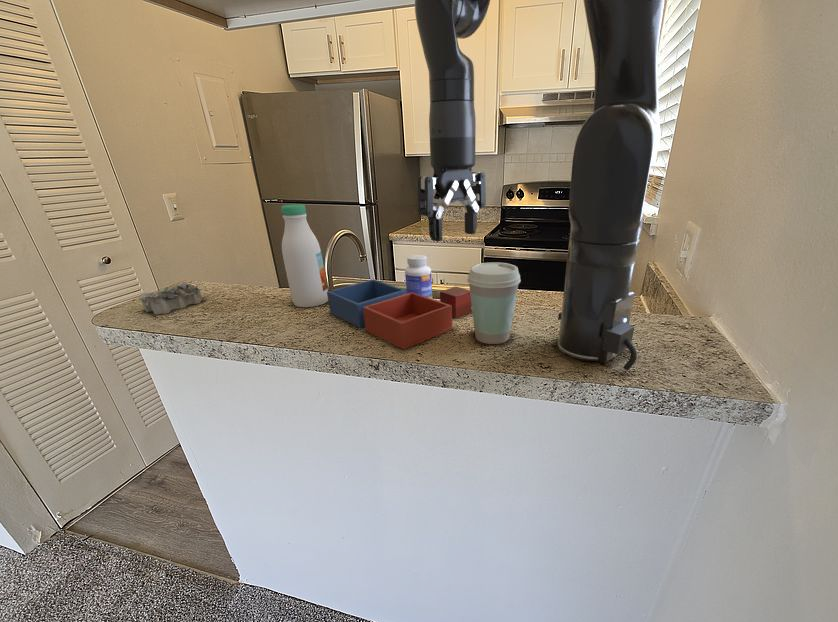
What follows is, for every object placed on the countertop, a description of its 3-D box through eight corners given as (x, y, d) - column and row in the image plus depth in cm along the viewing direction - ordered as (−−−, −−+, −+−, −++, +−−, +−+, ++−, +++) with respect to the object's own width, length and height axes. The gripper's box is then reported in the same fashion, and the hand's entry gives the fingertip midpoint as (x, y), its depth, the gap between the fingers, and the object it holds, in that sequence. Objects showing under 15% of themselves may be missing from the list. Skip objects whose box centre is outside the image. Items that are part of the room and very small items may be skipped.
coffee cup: (515, 349, 65) (519, 276, 59) (463, 345, 67) (462, 274, 61) (519, 328, 72) (523, 262, 67) (472, 325, 74) (472, 260, 68)
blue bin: (407, 311, 81) (406, 290, 79) (360, 328, 75) (357, 304, 72) (376, 299, 89) (373, 279, 86) (330, 313, 82) (326, 291, 80)
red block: (471, 312, 80) (471, 290, 78) (455, 318, 78) (455, 296, 76) (456, 306, 83) (455, 286, 81) (440, 312, 80) (439, 291, 78)
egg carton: (157, 316, 83) (149, 298, 81) (140, 310, 87) (133, 292, 85) (208, 301, 91) (202, 283, 89) (190, 296, 95) (185, 279, 93)
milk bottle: (319, 309, 84) (300, 207, 75) (286, 307, 86) (263, 207, 76) (335, 297, 91) (320, 202, 82) (304, 295, 92) (285, 202, 83)
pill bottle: (426, 307, 83) (423, 260, 79) (403, 305, 85) (399, 259, 80) (436, 299, 88) (434, 254, 83) (414, 297, 89) (411, 252, 85)
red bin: (452, 329, 73) (451, 305, 71) (403, 349, 66) (401, 323, 64) (413, 314, 80) (411, 291, 78) (365, 330, 73) (362, 307, 71)
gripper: (435, 134, 59) (439, 246, 67) (498, 134, 68) (495, 233, 75) (403, 136, 64) (410, 240, 72) (466, 135, 73) (466, 229, 80)
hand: (454, 236), depth 73 cm, fingers open, 8 cm apart
